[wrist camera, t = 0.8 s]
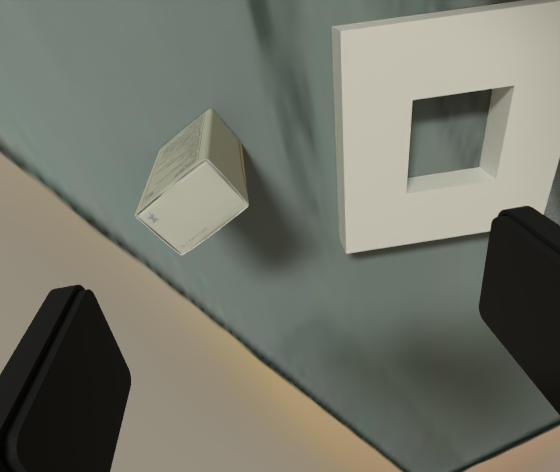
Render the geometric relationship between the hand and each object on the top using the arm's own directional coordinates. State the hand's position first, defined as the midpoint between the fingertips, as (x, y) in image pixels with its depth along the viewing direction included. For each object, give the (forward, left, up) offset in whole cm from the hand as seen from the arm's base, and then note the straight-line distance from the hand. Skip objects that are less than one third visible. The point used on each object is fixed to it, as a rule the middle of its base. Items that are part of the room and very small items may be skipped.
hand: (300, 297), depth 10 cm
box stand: (+8, +17, -28) cm, 34 cm away
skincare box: (+6, -5, -28) cm, 29 cm away
